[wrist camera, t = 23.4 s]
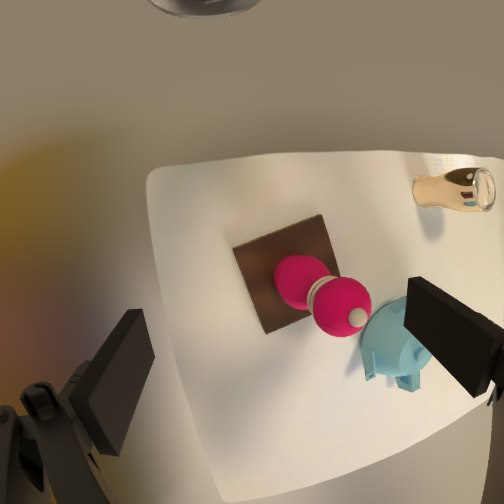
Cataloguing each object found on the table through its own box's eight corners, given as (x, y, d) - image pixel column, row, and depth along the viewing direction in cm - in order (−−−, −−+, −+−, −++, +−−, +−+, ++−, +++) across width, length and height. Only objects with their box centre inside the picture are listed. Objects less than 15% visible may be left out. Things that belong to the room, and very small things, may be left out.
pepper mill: (318, 252, 45) (400, 279, 25) (314, 299, 45) (387, 352, 26) (271, 250, 43) (330, 280, 24) (268, 300, 44) (320, 361, 25)
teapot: (337, 355, 49) (367, 385, 38) (381, 280, 48) (421, 295, 38) (390, 378, 52) (421, 404, 42) (429, 313, 52) (466, 330, 41)
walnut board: (232, 248, 43) (233, 248, 42) (319, 214, 45) (321, 214, 44) (264, 332, 46) (266, 334, 45) (344, 296, 47) (346, 298, 46)
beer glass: (410, 208, 48) (472, 210, 33) (411, 170, 47) (472, 161, 32) (436, 212, 49) (496, 215, 34) (436, 176, 48) (496, 171, 34)
